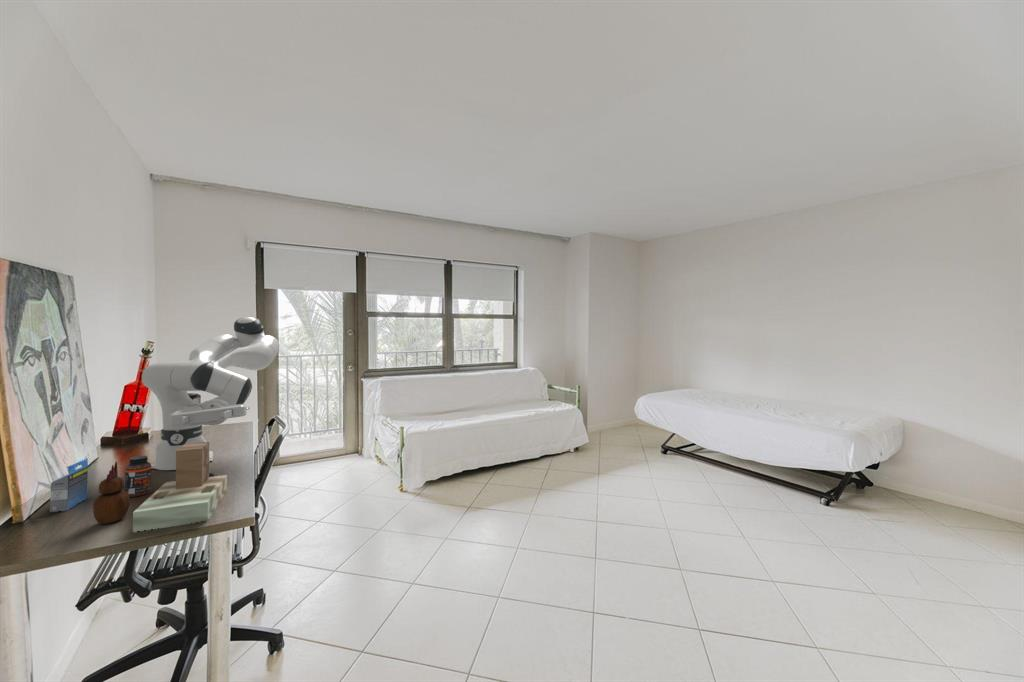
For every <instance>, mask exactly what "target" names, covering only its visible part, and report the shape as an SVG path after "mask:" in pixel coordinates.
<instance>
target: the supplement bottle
mask: <svg viewBox="0 0 1024 682" xmlns="http://www.w3.org/2000/svg"><path fill="white" fill-rule="evenodd" d="M151 464H152V463H151V462H148V456H147V455H138V456H137V455H136V456H132V457H130V458H129V464H127V465H126V466H125V469H124V483H125V484H124V491H126V492H127V493H128V495H129V498H135V497H142V496H145V495H147V494H149V493H151V491H152V468H151Z"/></svg>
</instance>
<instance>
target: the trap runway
mask: <svg viewBox="0 0 1024 682" xmlns="http://www.w3.org/2000/svg"><path fill="white" fill-rule="evenodd" d="M226 491H227V492H228V475H227V474H224V475H217V476H215V475H214V477H209V478H208V479H207V481H206V482H205V483H204V484H203V485H202V486H199V487H191V488H183V489H176V480H171V481H166V482H164V484H162V485H161V486H160V487H159V488H158V489H156V491H155V492H154V493H153V494H151V495H150V496H149V497H148V498H147V499H145V500H144V502H143V503H142V504H140V505H139V506H138V507H137V508H136V509H134V511H133V512H132V533H138V532H137V531H140V532H145V531H144V530H146V531H152V530H151V529H153V530H159V529H165V528H166V529H167V528H171V527H177V526H178V527H179V526H184V525H191V523H192V524H196V522H198V523H202V522H201V521H205V522H208V521H209V520H210V519H211V517H212V515H213V514H214V513H215V511H214V510H216V509H217V508H218V506H219V504H220V503H221V501H222V499H223V498H224V496H225V495H226V494H227V492H226ZM222 497H223V498H222ZM219 502H220V503H219ZM212 513H213V514H212ZM210 516H211V517H210ZM208 519H209V520H208ZM207 520H208V521H207ZM158 528H159V529H158Z"/></svg>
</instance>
